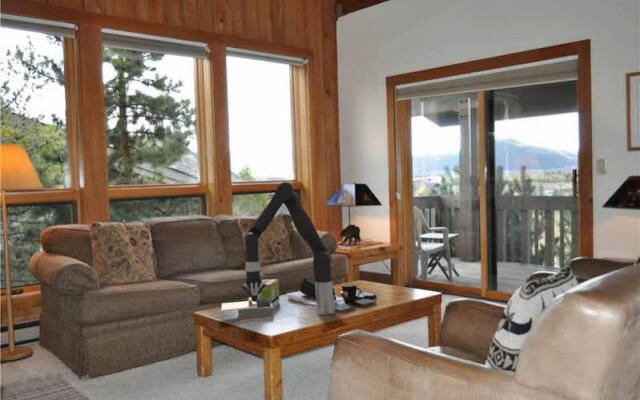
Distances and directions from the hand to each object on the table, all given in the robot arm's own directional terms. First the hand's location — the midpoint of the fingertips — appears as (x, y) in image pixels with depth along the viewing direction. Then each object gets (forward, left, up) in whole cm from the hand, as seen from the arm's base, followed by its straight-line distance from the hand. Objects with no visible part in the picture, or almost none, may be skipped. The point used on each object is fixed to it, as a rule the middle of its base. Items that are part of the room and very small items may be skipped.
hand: (254, 301), depth 299 cm
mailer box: (0, 0, -8) cm, 8 cm away
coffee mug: (-55, -11, -8) cm, 57 cm away
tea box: (-8, -19, -8) cm, 22 cm away
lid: (+8, 0, -2) cm, 9 cm away
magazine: (-38, -27, -8) cm, 48 cm away
